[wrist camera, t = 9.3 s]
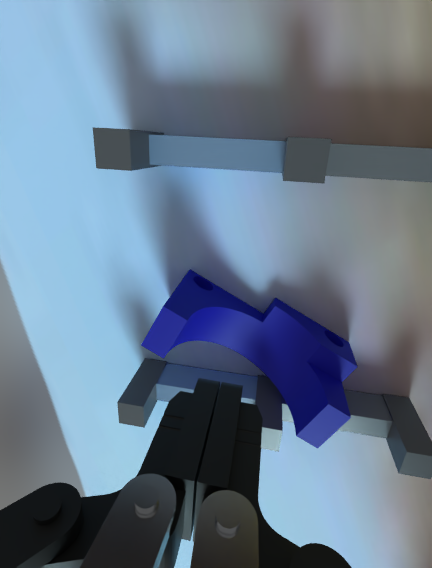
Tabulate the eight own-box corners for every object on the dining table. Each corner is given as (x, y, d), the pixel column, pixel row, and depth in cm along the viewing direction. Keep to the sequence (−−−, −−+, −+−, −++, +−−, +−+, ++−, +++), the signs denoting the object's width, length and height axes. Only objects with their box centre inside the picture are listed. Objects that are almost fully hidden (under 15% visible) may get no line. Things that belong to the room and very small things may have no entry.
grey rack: (496, 149, 17) (574, 150, 13) (402, 416, 24) (430, 479, 20) (135, 131, 20) (92, 127, 16) (145, 376, 27) (119, 422, 23)
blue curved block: (348, 340, 23) (369, 400, 18) (309, 382, 25) (317, 448, 20) (200, 250, 22) (175, 284, 17) (171, 300, 24) (141, 345, 19)
